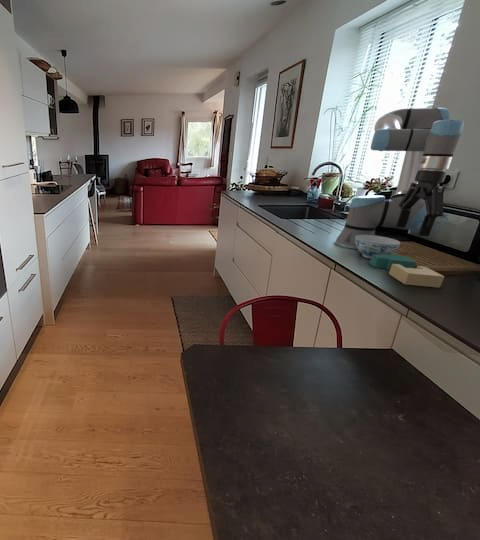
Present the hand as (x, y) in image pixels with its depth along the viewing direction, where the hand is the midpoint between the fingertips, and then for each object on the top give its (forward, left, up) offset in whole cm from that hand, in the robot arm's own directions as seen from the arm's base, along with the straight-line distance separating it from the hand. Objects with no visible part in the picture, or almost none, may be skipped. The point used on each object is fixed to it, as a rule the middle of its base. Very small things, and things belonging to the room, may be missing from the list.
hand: (411, 231), depth 117 cm
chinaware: (-14, -3, -15) cm, 21 cm away
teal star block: (-1, -3, -14) cm, 15 cm away
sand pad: (+13, -2, -14) cm, 19 cm away
